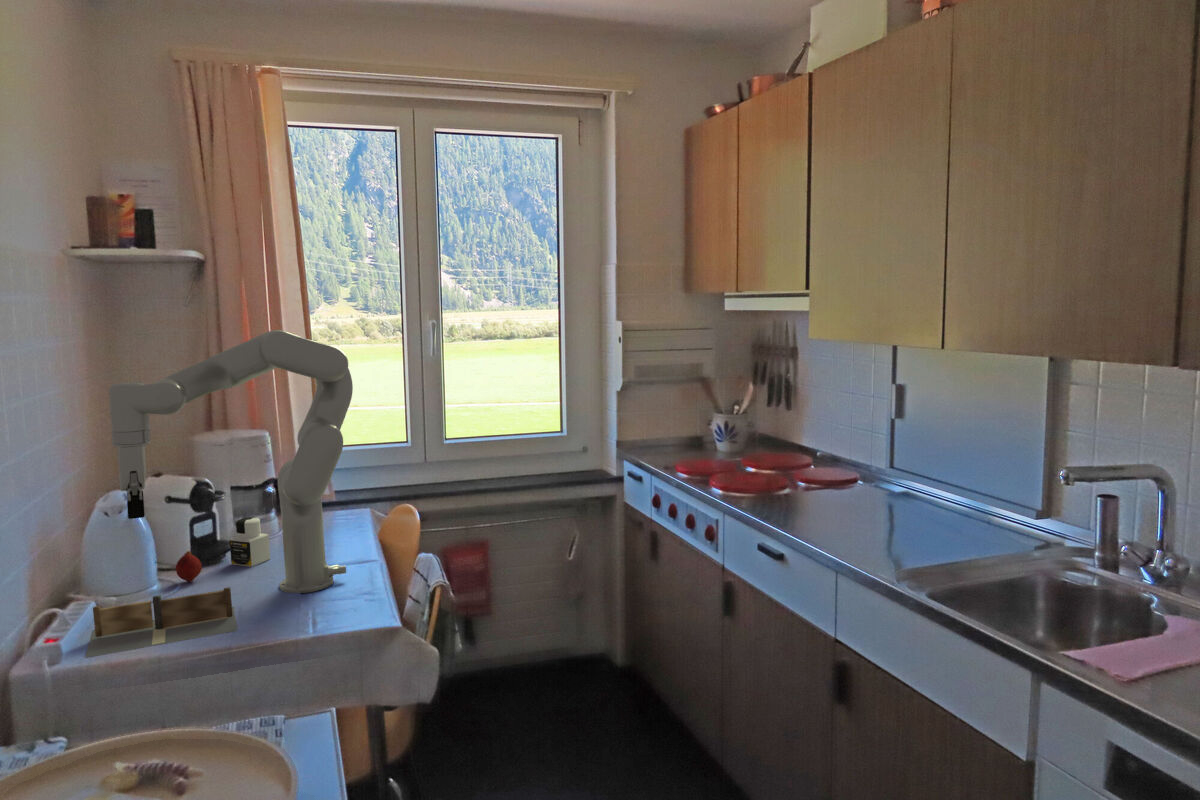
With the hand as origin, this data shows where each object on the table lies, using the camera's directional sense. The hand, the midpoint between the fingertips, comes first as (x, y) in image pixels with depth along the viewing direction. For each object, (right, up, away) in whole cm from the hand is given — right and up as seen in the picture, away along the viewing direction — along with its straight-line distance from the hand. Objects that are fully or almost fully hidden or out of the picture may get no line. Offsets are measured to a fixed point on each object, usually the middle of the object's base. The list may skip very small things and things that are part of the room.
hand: (136, 513), depth 190 cm
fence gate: (+3, -24, -11) cm, 26 cm away
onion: (+1, -21, +23) cm, 31 cm away
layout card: (+11, -24, -9) cm, 28 cm away
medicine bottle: (+10, -19, +39) cm, 44 cm away
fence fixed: (+16, -23, -5) cm, 28 cm away
